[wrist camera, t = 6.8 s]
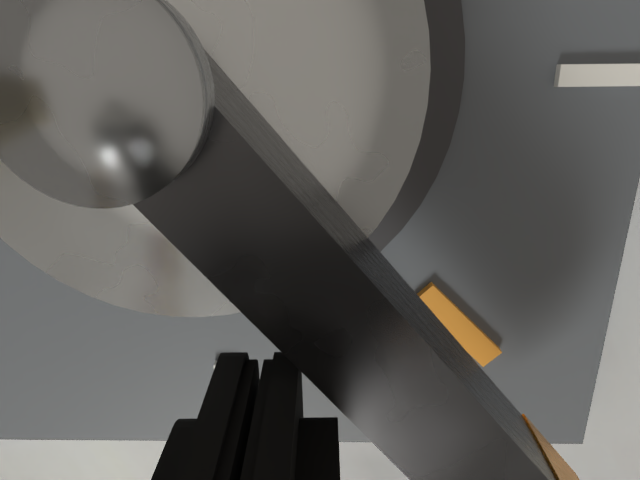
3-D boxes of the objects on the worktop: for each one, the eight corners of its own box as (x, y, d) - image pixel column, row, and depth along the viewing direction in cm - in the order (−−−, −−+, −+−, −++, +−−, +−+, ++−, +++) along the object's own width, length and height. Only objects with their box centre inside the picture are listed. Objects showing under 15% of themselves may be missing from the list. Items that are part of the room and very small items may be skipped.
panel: (-372, -492, 10) (-511, -600, 8) (741, -537, 9) (828, -664, 8) (-68, 408, 17) (-109, 444, 16) (561, 411, 17) (586, 449, 15)
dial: (-106, 54, 11) (-478, 48, 6) (194, -321, 9) (6, -846, 4) (378, 511, 16) (401, 732, 11) (664, 339, 14) (875, 515, 8)
